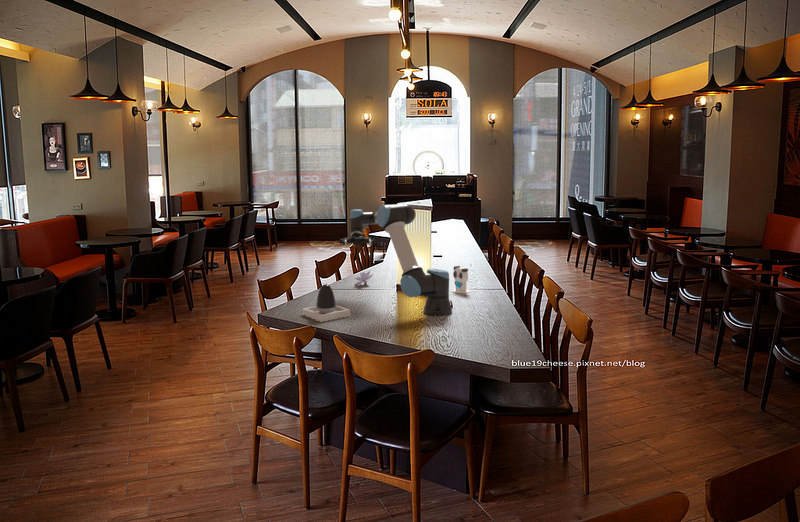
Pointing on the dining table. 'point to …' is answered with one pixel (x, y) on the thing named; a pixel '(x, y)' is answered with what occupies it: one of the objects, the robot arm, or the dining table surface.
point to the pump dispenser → (326, 300)
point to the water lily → (363, 278)
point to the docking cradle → (318, 316)
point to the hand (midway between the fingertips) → (358, 243)
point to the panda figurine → (460, 279)
